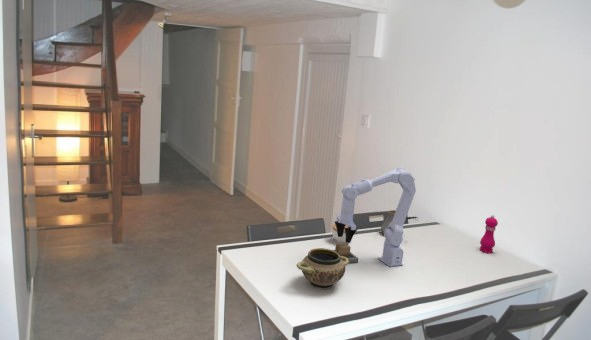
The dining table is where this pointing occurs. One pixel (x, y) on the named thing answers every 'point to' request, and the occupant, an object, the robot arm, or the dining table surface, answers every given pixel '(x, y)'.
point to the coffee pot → (389, 220)
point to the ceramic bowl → (323, 267)
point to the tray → (351, 258)
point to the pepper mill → (489, 235)
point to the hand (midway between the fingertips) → (344, 239)
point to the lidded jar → (335, 235)
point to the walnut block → (343, 249)
